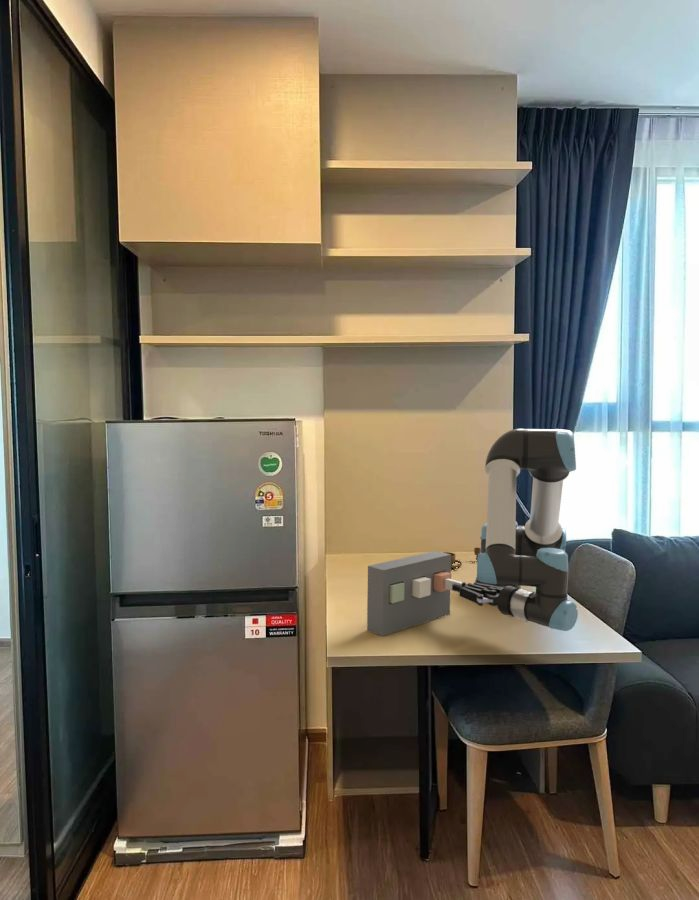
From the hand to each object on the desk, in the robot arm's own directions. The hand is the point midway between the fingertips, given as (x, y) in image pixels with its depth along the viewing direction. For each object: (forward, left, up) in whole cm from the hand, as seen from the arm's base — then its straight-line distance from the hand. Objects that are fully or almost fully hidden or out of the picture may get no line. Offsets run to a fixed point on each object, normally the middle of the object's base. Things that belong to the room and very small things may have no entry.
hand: (446, 583), depth 190 cm
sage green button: (+14, -12, -2) cm, 19 cm away
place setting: (-64, -13, -12) cm, 66 cm away
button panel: (+6, -8, -11) cm, 15 cm away
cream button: (+7, -7, -2) cm, 10 cm away
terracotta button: (-1, -3, -2) cm, 4 cm away
